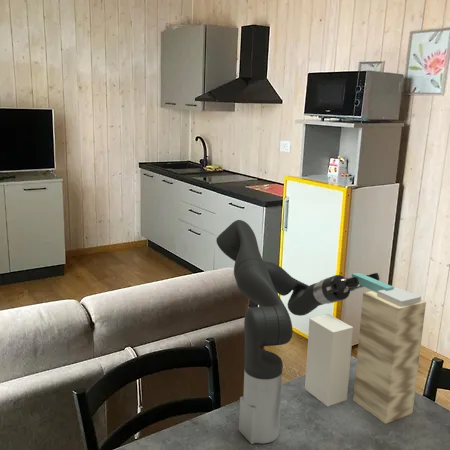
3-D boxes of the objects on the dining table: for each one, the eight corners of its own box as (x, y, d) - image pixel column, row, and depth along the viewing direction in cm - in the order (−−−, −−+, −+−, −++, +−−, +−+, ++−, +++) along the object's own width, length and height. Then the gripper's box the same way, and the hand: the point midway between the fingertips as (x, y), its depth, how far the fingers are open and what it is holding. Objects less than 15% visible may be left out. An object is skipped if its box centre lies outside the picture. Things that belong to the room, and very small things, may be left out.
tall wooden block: (385, 423, 130) (398, 308, 123) (353, 400, 140) (363, 292, 133) (412, 413, 135) (426, 302, 128) (379, 391, 145) (390, 287, 138)
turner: (401, 307, 124) (401, 298, 123) (345, 282, 141) (346, 274, 140) (420, 302, 127) (421, 294, 127) (363, 278, 144) (364, 271, 144)
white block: (327, 406, 137) (333, 332, 132) (304, 388, 145) (309, 318, 140) (346, 400, 140) (353, 327, 135) (323, 382, 149) (328, 314, 144)
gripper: (309, 281, 149) (344, 268, 135) (345, 274, 156) (382, 261, 142) (315, 306, 148) (352, 295, 134) (352, 298, 154) (390, 287, 140)
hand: (367, 278), depth 138 cm, fingers open, 7 cm apart
